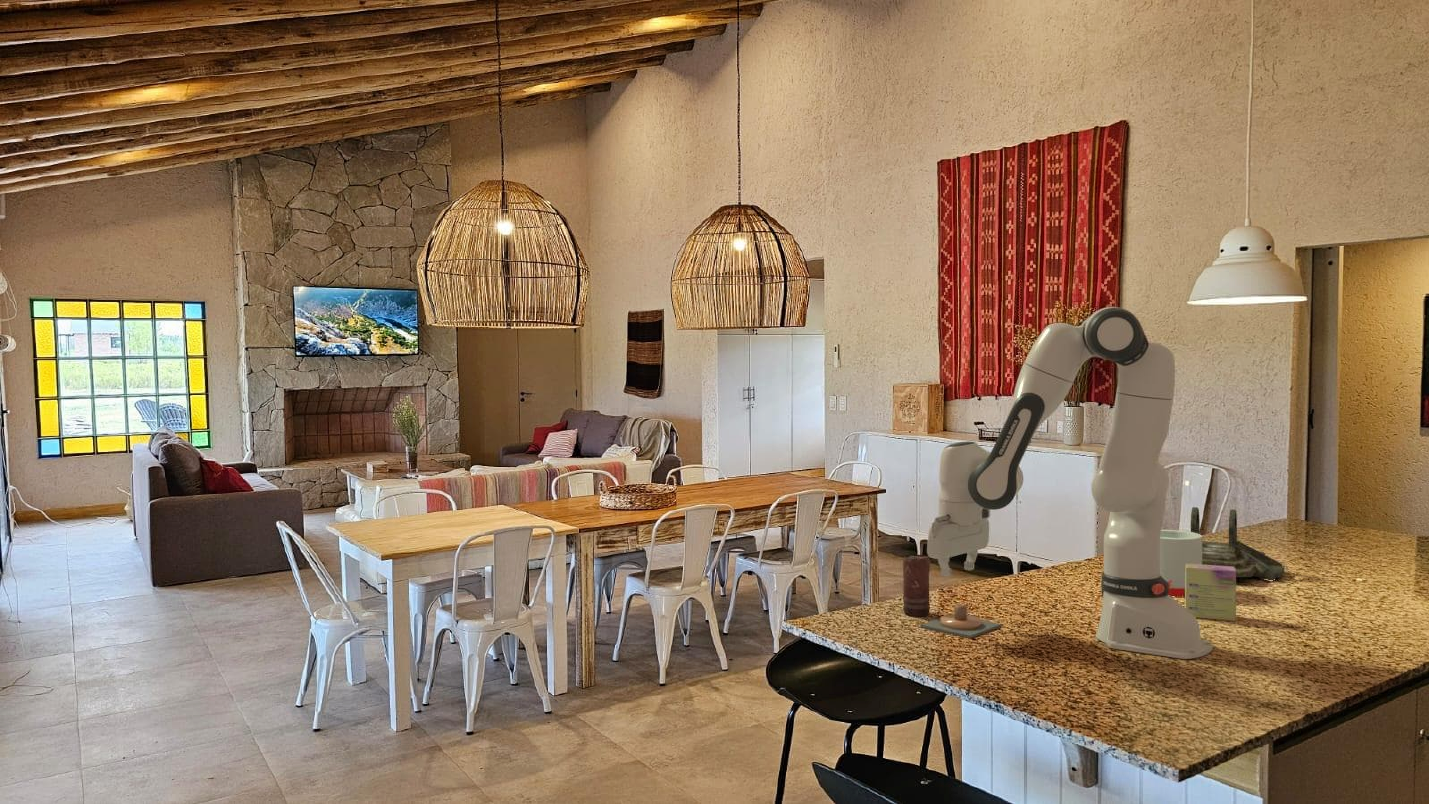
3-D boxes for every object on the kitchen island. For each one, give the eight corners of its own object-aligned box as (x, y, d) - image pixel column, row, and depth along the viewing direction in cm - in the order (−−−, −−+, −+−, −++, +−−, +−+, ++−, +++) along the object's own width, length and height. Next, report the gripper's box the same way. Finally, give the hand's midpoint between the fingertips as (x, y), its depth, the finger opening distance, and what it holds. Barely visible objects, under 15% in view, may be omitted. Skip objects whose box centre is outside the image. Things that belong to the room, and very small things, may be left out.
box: (1234, 615, 222) (1234, 565, 221) (1236, 621, 216) (1236, 570, 216) (1184, 611, 226) (1184, 562, 226) (1185, 617, 221) (1185, 567, 220)
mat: (1001, 626, 216) (1001, 624, 216) (970, 638, 207) (970, 635, 207) (952, 616, 225) (952, 614, 225) (920, 627, 216) (920, 624, 216)
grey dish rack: (1162, 555, 294) (1162, 497, 293) (1289, 566, 274) (1289, 504, 274) (1137, 576, 266) (1137, 512, 265) (1276, 590, 246) (1276, 521, 245)
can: (930, 617, 225) (930, 559, 224) (903, 616, 226) (902, 558, 226) (930, 611, 231) (929, 554, 230) (903, 610, 232) (903, 553, 231)
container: (1139, 594, 243) (1138, 538, 243) (1135, 581, 258) (1135, 528, 258) (1208, 599, 238) (1208, 541, 237) (1200, 585, 252) (1200, 530, 252)
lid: (988, 623, 216) (988, 605, 216) (967, 632, 210) (967, 613, 210) (954, 617, 222) (954, 599, 222) (932, 624, 216) (932, 606, 216)
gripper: (945, 519, 206) (944, 582, 206) (994, 509, 220) (993, 568, 220) (920, 516, 210) (919, 577, 211) (970, 506, 224) (969, 564, 225)
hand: (957, 572), depth 216 cm, fingers open, 8 cm apart
